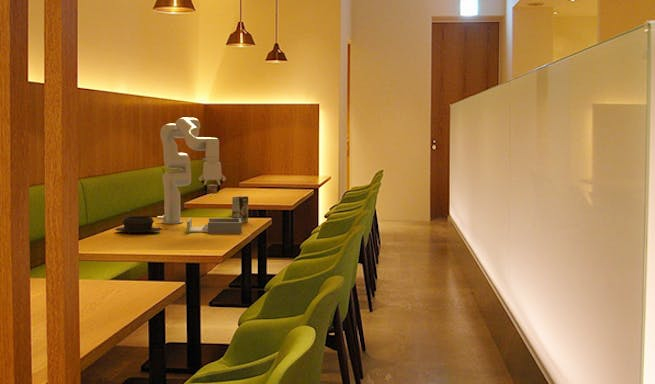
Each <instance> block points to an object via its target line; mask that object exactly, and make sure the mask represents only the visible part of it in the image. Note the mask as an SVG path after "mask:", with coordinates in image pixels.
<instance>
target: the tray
mask: <svg viewBox="0 0 655 384" xmlns="http://www.w3.org/2000/svg"><path fill="white" fill-rule="evenodd" d="M192 219H193V218H192V216H191V217H190V216H189V217H188V219H187V221H186V233H187V234H190V233H208V223H207V224H206V223H205V224H202V226H192Z"/></svg>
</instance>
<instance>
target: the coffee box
mask: <svg viewBox="0 0 655 384" xmlns="http://www.w3.org/2000/svg"><path fill="white" fill-rule="evenodd" d="M231 200H232V202H231V203H232V204H231V205H232V207H231V208H232V209H231V211H232V213H231V218H241V222H242V224H246V222H247V223H248V222H249V196H241V195H240V196H232V198H231Z"/></svg>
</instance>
